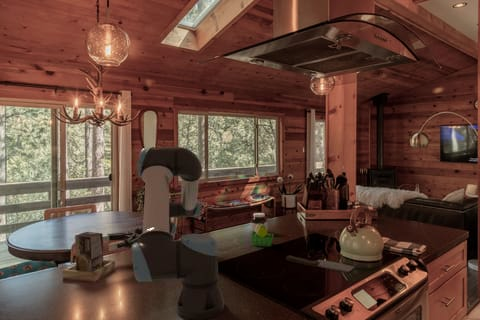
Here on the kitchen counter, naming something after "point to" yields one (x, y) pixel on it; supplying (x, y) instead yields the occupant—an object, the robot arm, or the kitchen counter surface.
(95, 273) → the box
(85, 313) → the kitchen counter surface
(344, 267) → the cleaver
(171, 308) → the kitchen counter surface
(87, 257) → the coffee box
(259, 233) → the fruit basket
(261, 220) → the spread jar
